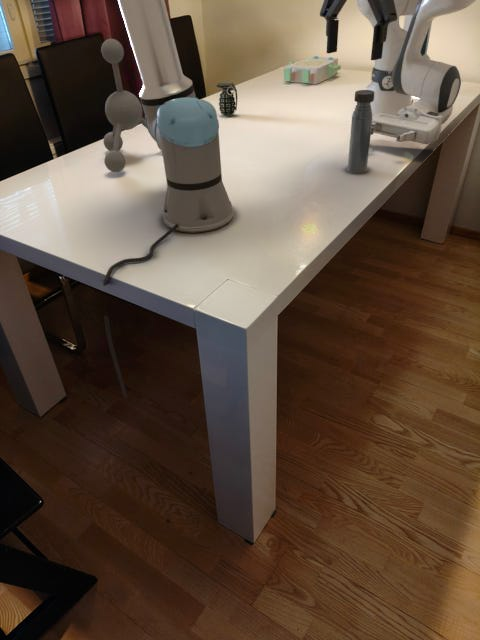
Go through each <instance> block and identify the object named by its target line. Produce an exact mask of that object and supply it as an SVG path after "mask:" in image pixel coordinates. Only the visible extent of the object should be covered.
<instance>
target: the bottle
mask: <svg viewBox="0 0 480 640" xmlns="http://www.w3.org/2000/svg"><path fill="white" fill-rule="evenodd" d="M370 104H371V102H370V103H359V102H356V105H355V107H354V110H353V113H352V116H351V126H350V136H349V146H348V157H347V158H348V159H347V172H348V173H351V174H355V175H356V174H359V175H360V174H364V173H366V172H367V171H368V163H369V154H370V153H369V152H370V143H371V136H372V135H371V128H372V119H373V117H372V116H373V114H372V108H371V105H370Z"/></svg>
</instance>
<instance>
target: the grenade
mask: <svg viewBox="0 0 480 640" xmlns="http://www.w3.org/2000/svg"><path fill="white" fill-rule="evenodd" d="M215 87H217V88H219V89H221V93H219V97H218V101H219V102H218V106H219V108H218V109H219V112H220V114H221V115H222V116H224V117H231V116H233V115H234V113H235V112H236V111H237V108H238V89H237V87H236V85H235V84H234V83H233V82H218V83H217V84H216V86H215ZM232 91H233V92H232ZM234 94H235V96H234Z"/></svg>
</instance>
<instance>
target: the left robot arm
mask: <svg viewBox="0 0 480 640" xmlns="http://www.w3.org/2000/svg"><path fill="white" fill-rule="evenodd" d="M347 1H348V0H323V3H322V6H321V8H320V12H319V17H321V18H323V19H324V20H325V23H326V25H325V36H326V37H327V38H326V54H333V53H336V52H338V43H339V42H338V41H339V40H338V39H339V25H340V20H339V14H340V12H341V11H342V10H343V7H344V6H345V4H346V2H347ZM117 2H118V5H119V9H120V12H121V16H122V18H123V21H124V25H125V28H126V32H127V35H128V38H129V42H130V46H131V48H132V51H133V55H134V58H135V61H136V65H137V68H138V71H139V74H140V79H141V81H142V86H141V87H142V88H141V90H140V91H139V93H138V95H139V99H140V103H141V106H142V110H143V112H144V119H145V123H146V126H147V128H146V130H147V131H148V133H149V135H150V137H151V138H152V139H153V140H154V141H155V143H156V145H157V144H158V145H157V147H158V146H159V147H158V149H159V148H160V149H161V150H160V149H159V150H160V151H161V154H162V159H163V168H164V174H165V180H166V190H165V191H166V192H165V196H164V203H163V207H162V218H163V222H164V224H165V226H167V227H168V228H169V230H167V231H166V232H165V233H164V234H163V235H162V236H161V237H159V238H158V239H157V240H156V241H155V242H154V243H152V244H151V246H149V247H150V248H149V251H148V254H146V255H144V256H141V257H130V258H125V259H121V260H120V261H117V262H115V263H114V264H113V265H112V264H111V266H110V267H109V268H108V270H107V272H106V275H105V277H104V280H103V284H102V286H107V285H108V283H109V280H110V277H111V275H112V273H113V271H114V270H115V269H116V268H118V267H120V266H122V265H124V264H128V263H137V262H144V261H147V260H149V259H150V258H152V257H153V254H154V249H155V248H156V247H157V246H158V245H159V244H160V243H162V242H163V241H164V240H165V239H166V238H167V237H168V236H170V235H171V234H172V233H173V232H174V231H177V232H180V233H190V234H191V233H192V234H193V233H194V234H195V233H196V234H197V233H205V232H206V233H207V232H210V231H215V230H216V229H220V228H222V227H224V226H226V225H227V224H228V223H230V221H231V220H232V218H233V216H234V212H233V211H234V210H233V205H232V201H231V200H230V197H229V195H228V192H227V190H226V187H225V184H224V182H223V175H222V174H223V173H222V161H221V159H222V158H221V147H220V146H221V145H220V133H219V131H220V124H219V123H220V122H219V119H218V114H217V110H216V108H215V106H214V105H213V104H212V103H211V102H209V101H207V100H205V99H203V98H202V99H199V98H198V97H197V96H196V91H195V88H194V84H193V80H192V79H190V78H189V77H187V76H186V75H184V73H183V69H182V65H181V62H180V57H179V54H178V49H177V45H176V42H175V37H174V34H173V29H172V26H171V20H170V18H169V13H168V10H167V5H166V1H165V0H117ZM368 3H369V5H370V7H371V9H372V12H373V14H374V16H375V18H376V21H377V24H376V25H375V26H374V29H373V35H372V44H371V54H370V61H375V60H377V59H381V58H382V52H383V43H384V42H385V41H386V38H387V29H388V24H389V23H391V22H393V21H396V20H397V13H396V8H395V3H394V0H368ZM103 318H104V319H103V320H104V325H105V332H106V338H107V342H108V346H109V351H110V354H111V358H112V360H113V365H114V368H115V371H116V374H117V378H118V381H119V385H120V388H121V392H122V396H123V399H127V398H128V395H127V390H126V386H125V383H124V382H125V381H124V379H123V375H122V372H121V369H120V366H119V362H118V359H117V355H116V351H115V347H114V344H113V338H112V334H111V333H112V332H111V328H110V321H109V315H105V314H104V315H103Z"/></svg>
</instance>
